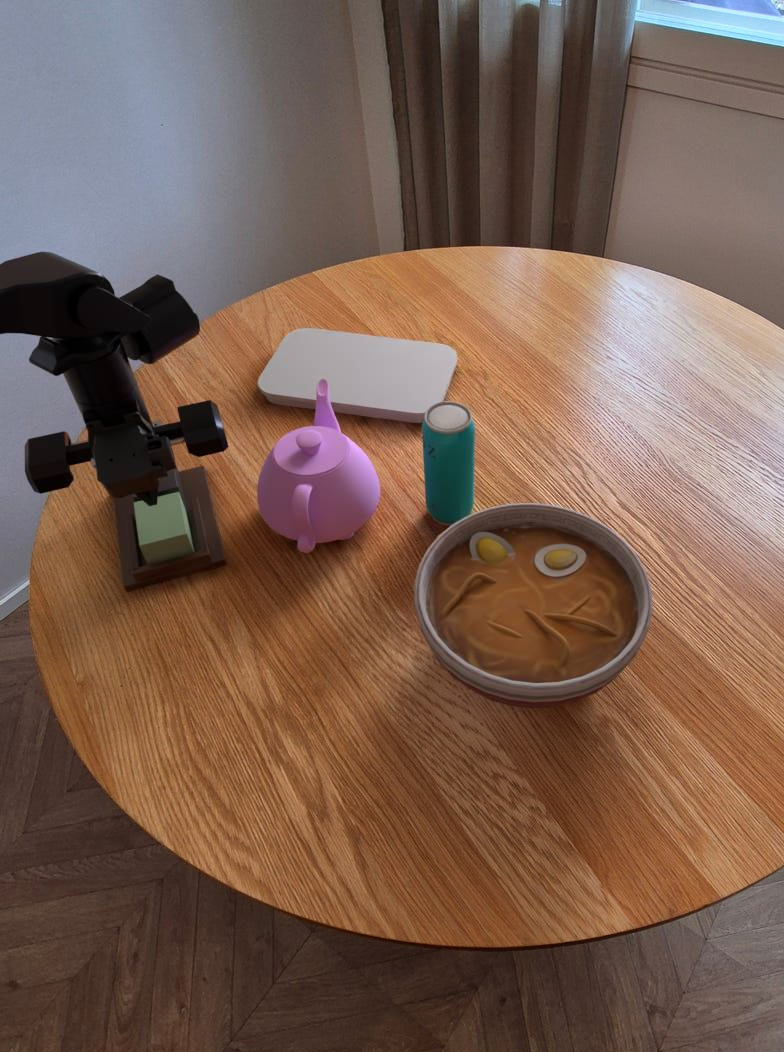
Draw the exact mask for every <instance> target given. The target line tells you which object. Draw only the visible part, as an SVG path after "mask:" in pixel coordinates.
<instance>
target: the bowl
mask: <svg viewBox="0 0 784 1052" xmlns="http://www.w3.org/2000/svg"><path fill="white" fill-rule="evenodd" d="M641 561H642V560H641V559H640V557H639V556H638V555H637V553H636V552H635V551H634V550H633V548H632V547H631V546H630V545H629V544H628V543H627V542H626V540H624V539H623V538H622V537H621V536H620V535H619V534H617V533H616V532H615V530H613V529H611V528H610V527H609V526H607V525H605V524H604V523H602V522H600V521H598V520H596V519H595V518H594V517H591V516H589V515H587V514H584V513H582V512H580V511H576V510H574V509H571V508H567V507H563V506H558V505H554V504H548V503H547V504H546V503H538V502H522V503H520V502H519V503H507V504H501V505H496V506H491V507H487V508H485V509H481V510H478V511H476V512H474V513H470V514H469V516H467V517H465V518H463V519H461V520H460V521H458V522H456V523H454V524H453V525H451V526H448V527H447V528H446V529H445V530H444V531H442V532H441V533H440V534H439V535H437V537H436V538H435V539H434V541H433V542H432V543H431V544H430V546H429V547H428V548H427V549H426V551H425V553H424V554H423V557H422V559H421V560H420V563H419V565H418V566H417V570H416V575H415V579H414V584H413V594H414V595H413V598H414V599H413V603H414V605H413V606H414V609H415V613H416V617H417V620H418V623H419V624H418V625H419V627H420V631H421V635H422V636H423V638H424V640H425V642H426V644H427V645H428V648H429V650H430V651H431V653H432V654H433V656H434V657H435V659H436V660H437V661H438V663H439V664H440V665H441V666H442V667H443V668H444V670H445V671H446V672H447V673H448V674H449V675H450V676H451V677H452V678H453V679H454V680H455V681H457V682H458V683H459V684H461V685H462V686H464V688H466V689H467V690H469V691H471V692H473V693H474V694H477V695H479V696H481V697H483V698H485V699H487V700H488V701H491V702H494V703H497V704H501V705H505V706H507V707H511V708H518V709H529V710H538V709H552V708H556V707H561V706H564V705H569V704H572V703H578V702H579V701H582V700H584V699H586V698H588V697H590V696H592V695H594V694H596V693H598V692H599V691H601V690H602V689H604V688H605V687H606V686H607V685H609V684H611V683H612V682H613V681H614V680H615V679H616V678H618V676H619V675H620V674H622V672H623V671H625V669H626V668H627V667H628V666H629V665H630V663H631V662H632V661H633V660H634V659H635V657H636V656H637V653H638V652H639V649H640V648H641V646H642V644H643V642H644V640H645V638H646V636H647V634H648V632H649V628H650V624H651V621H652V617H653V612H654V611H653V609H654V608H653V589H652V586H651V582H650V578H649V575H648V572H647V569H646V568H645V567H644V565H643V563H642V562H641Z"/></svg>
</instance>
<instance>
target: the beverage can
mask: <svg viewBox="0 0 784 1052" xmlns="http://www.w3.org/2000/svg"><path fill="white" fill-rule="evenodd" d="M475 427H476V425H475V422H474V420H473V414H472V411H471V410H470V408H469V407H467V406H466V405H465V404H464V403H461V402H457V401H450V400H447V401H445V400H444V401H443V402H439V403H436V404H434V405H432V406H430V407H429V408H428V409H427V410H426V412H425V415H424V422H423V423H421V437H422V452H423V453H422V456H423V476H424V495H425V496H424V497H425V506H426V509H427V511H428V514H429V515H430V517H431V518H432V519H433V521H435V522H436V523H438V524H439V525H442V526H447V527H450V526H451V525H453V524H454V523H456V522H458V521H460V520H461V519H463V518H465V517H467V516H469V515H470V514H471V512H472V510H473V509H474V506H475V505H474V504H475V449H476V448H475V445H476V444H475V437H476V435H475V434H476V433H475V432H476V430H475V429H476V428H475Z"/></svg>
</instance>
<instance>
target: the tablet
mask: <svg viewBox="0 0 784 1052" xmlns="http://www.w3.org/2000/svg"><path fill="white" fill-rule="evenodd" d="M458 361H459V359H458V353H457V350H455V349H454V348H453V347H451V346H450V345H447V344H444V343H438V342H429V341H421V340H414V339H406V338H405V339H403V338H398V337H388V336H380V335H371V334H364V333H356V332H348V331H341V330H340V331H339V330H338V331H337V330H331V329H322V328H317V327H316V328H315V327H302V328H296V329H295V330H292V331H289V333H286V335H285V336H284V337H283V339H282V340H281V341H280V343H279V345H278V346H277V349H276V350H275V351H274V353H273V355H272V356H271V358H270V359H269V361H268V363H267V364H266V366H265V368H264V369H263V370H262V372H261V374H260V375H259V377H258V378H257V386H258V389H259V391H260V393H261V394H262V395H264V396H265V397H266V400H267V401H269V402H270V403H272V404H275V405H279V406H288V407H296V408H301V409H309V410H316V389H317V385H318V383H319V381H320V380H321V379H325V380H326V381H327V383H328V387H329V398H330V403H331V407H332V409H333V412H334V413H339V414H345V415H346V414H347V415H355V416H361V417H369V418H375V419H383V420H391V421H398V422H405V423H412V424H413V423H414V424H423V422H424V415H425V412H426V410H427V409H428V408H429V407H430V406H432V405H434V404H436V403H439V402H445V398H446V395H447V393H448V390H449V387H450V385H451V382H452V379H453V376H454V374H455V370H456V367H457V364H458Z"/></svg>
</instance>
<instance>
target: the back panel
mask: <svg viewBox="0 0 784 1052" xmlns="http://www.w3.org/2000/svg"><path fill="white" fill-rule="evenodd" d="M176 466H177V467H176V469H172V470H169V471H168V476H167V477H163V478H160V484H159V486H158V497H159V496H163V495H167V494H172V493H176V492H179V494H180V496H181V499H182V501H183V504H184V507H185V509H186V512H187V515H188V519H189V524H190V529H191V534H192V539H193V545H194V550H195V553H192V554H188V555H184V556H181V557H177V558H173V559H169V560H165V561H161V562H158V563H154V564H150V565H148V563H147V561H146V559H145V557H144V555H143V553H142V551H141V548H140V546H139V540H138V532H137V525H136V517H135V510H134V502H138V501H142V500H141V499H140V498H139V497H138V496H137V495H135V494H131V495H127V496H125V497H123V498H113V497H112V499H113V508H114V517H115V524H116V525H115V526H116V533H117V534H116V535H117V542H118V552H119V560H120V569H121V580H122V586H123V589H124V591H125V592H126V593H128V592H130V591H134V590H138V589H142V588H146V587H150V586H153V585H157V584H161V583H164V582H168V581H172V580H175V579H180V578H183V577H187V576H190V575H195V574H198V573H203V572H205V571H209V570H213V569H217V568H221V567H224V566H227V565H228V563H227V559H226V555H225V550H224V545H223V540H222V537H221V533H220V529H219V524H218V520H217V515H216V511H215V506H214V501H213V497H212V493H211V488H210V485H209V484H210V483H209V481H208V475H207V471H206V468H205V466H204V465H201V466H196V467H192V468H188V469H184V470H179V468H178V465H177V464H176Z"/></svg>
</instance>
